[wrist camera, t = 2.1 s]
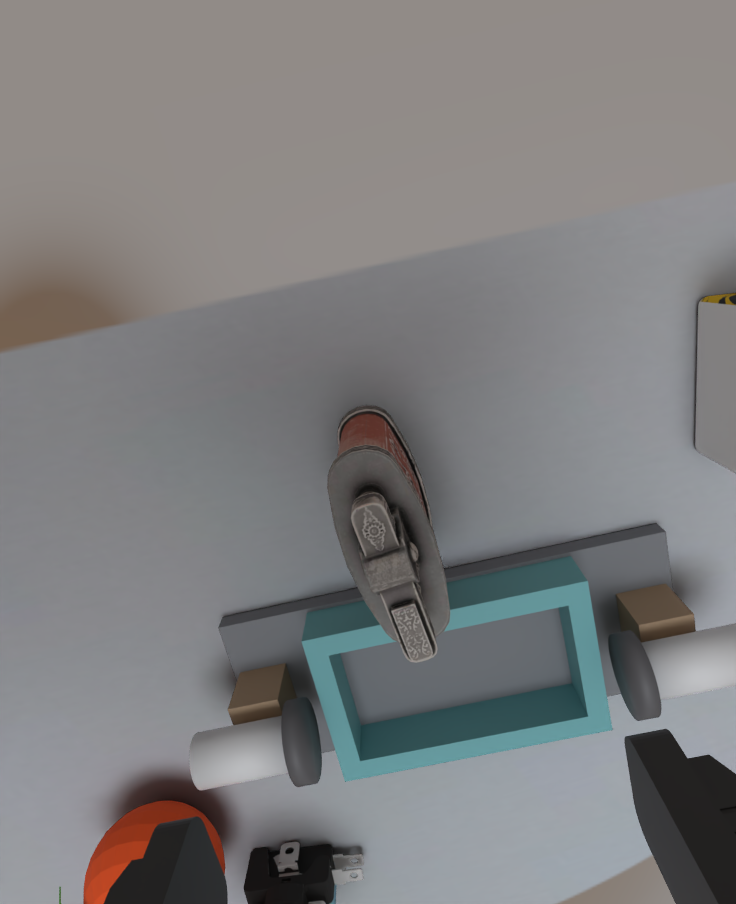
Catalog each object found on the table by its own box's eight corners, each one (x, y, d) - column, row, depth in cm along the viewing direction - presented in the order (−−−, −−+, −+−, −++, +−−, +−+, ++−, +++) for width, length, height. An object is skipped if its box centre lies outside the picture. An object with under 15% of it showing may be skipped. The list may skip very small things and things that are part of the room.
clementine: (98, 861, 37) (36, 995, 30) (94, 764, 35) (27, 884, 28) (235, 872, 37) (204, 1008, 30) (239, 775, 35) (207, 898, 29)
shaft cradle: (247, 754, 35) (219, 867, 28) (200, 622, 33) (156, 711, 26) (698, 664, 33) (778, 762, 27) (681, 517, 31) (764, 585, 24)
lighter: (323, 419, 30) (299, 492, 20) (392, 394, 29) (401, 457, 20) (381, 567, 32) (385, 699, 22) (446, 546, 31) (478, 670, 22)
